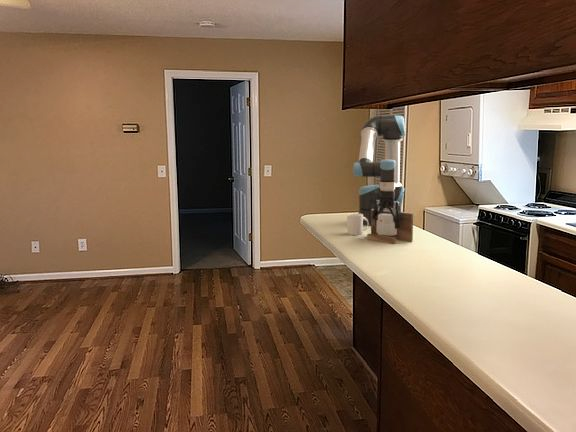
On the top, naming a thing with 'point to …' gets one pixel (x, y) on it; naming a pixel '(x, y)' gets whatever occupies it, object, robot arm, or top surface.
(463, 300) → the top surface
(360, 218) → the mug
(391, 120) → the robot arm
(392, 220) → the small box
